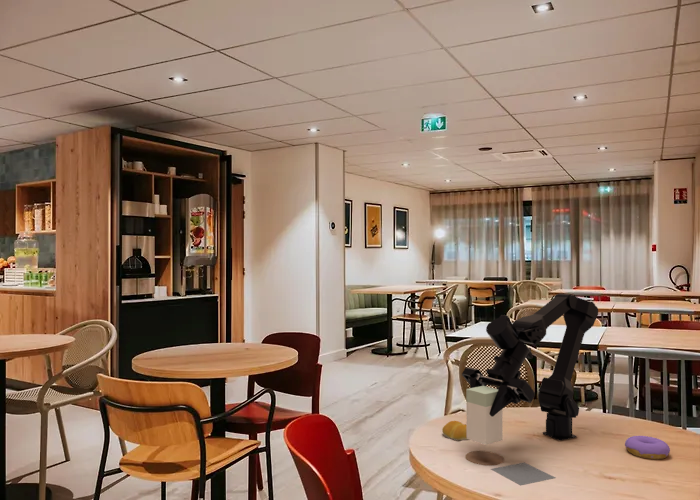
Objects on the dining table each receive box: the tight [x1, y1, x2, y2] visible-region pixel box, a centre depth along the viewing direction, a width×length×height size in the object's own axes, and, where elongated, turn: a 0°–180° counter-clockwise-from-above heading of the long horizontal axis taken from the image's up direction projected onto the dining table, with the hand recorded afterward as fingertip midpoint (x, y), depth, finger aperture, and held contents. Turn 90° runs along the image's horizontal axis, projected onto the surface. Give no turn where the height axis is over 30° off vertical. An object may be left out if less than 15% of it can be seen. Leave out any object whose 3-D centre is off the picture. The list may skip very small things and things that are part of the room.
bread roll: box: [441, 420, 470, 442], centre depth 152 cm, size 8×9×4 cm
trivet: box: [465, 450, 505, 466], centre depth 134 cm, size 9×9×1 cm
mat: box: [490, 461, 557, 486], centre depth 125 cm, size 10×10×1 cm
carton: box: [465, 386, 504, 446], centre depth 134 cm, size 6×6×12 cm
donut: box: [624, 435, 671, 460], centre depth 139 cm, size 10×9×5 cm
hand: (480, 412), depth 133 cm, fingers closed on carton, 6 cm apart
